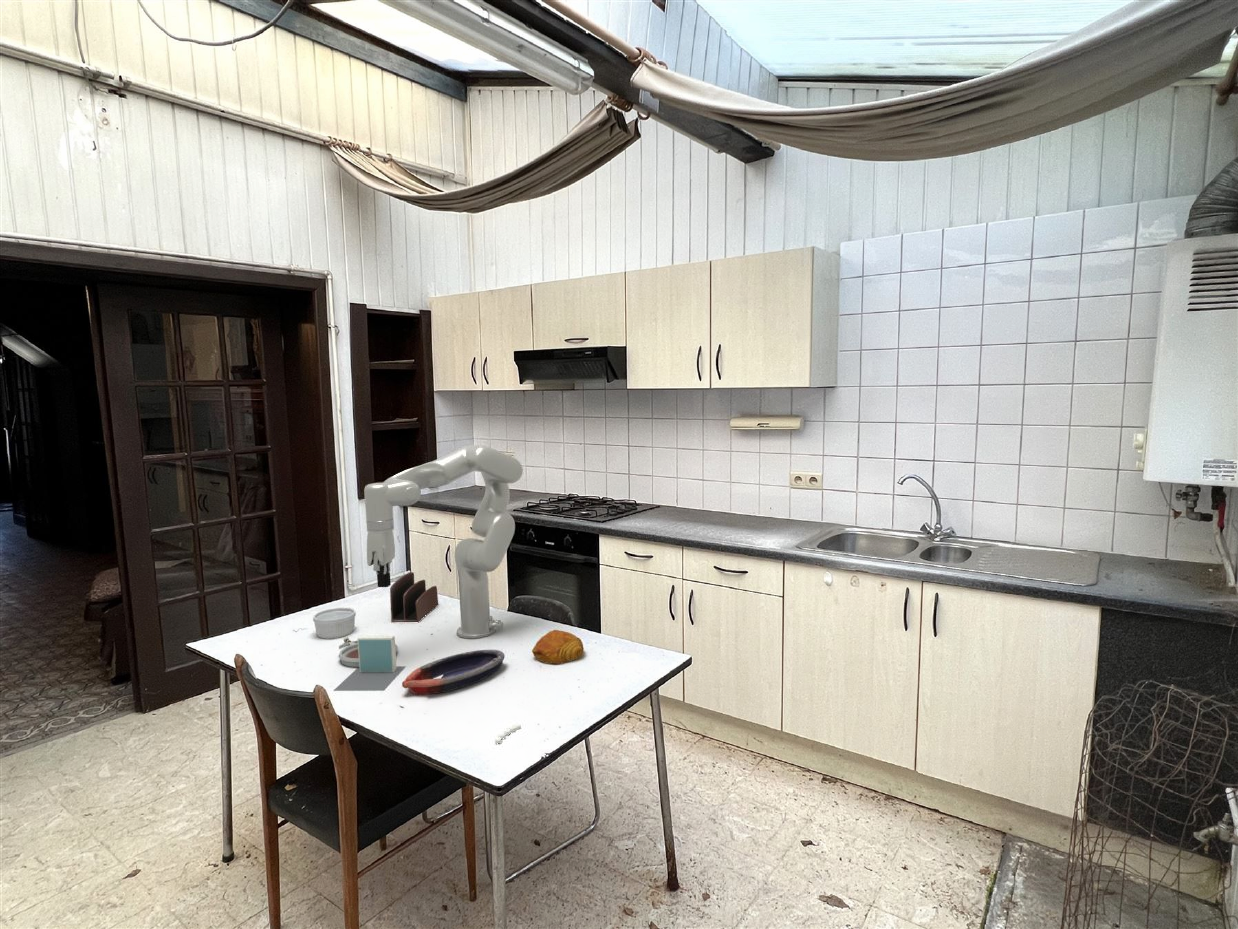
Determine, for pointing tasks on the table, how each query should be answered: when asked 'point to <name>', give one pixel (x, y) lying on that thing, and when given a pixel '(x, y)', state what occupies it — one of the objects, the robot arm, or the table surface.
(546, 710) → the table surface
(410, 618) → the letter holder
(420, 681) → the dish
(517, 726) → the white bumpy strip
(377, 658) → the tile
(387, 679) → the mat
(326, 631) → the ramekin
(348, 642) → the oval picture frame
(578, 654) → the croissant
